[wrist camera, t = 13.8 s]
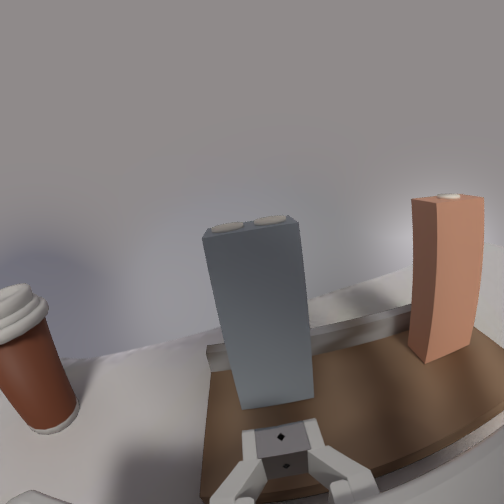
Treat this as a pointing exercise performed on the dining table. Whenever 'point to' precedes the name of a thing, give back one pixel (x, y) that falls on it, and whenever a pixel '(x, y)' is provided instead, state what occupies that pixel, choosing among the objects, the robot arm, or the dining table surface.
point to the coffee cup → (33, 363)
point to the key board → (361, 401)
